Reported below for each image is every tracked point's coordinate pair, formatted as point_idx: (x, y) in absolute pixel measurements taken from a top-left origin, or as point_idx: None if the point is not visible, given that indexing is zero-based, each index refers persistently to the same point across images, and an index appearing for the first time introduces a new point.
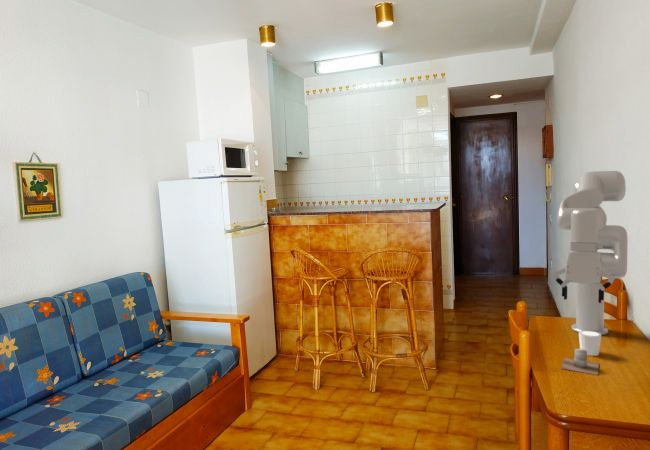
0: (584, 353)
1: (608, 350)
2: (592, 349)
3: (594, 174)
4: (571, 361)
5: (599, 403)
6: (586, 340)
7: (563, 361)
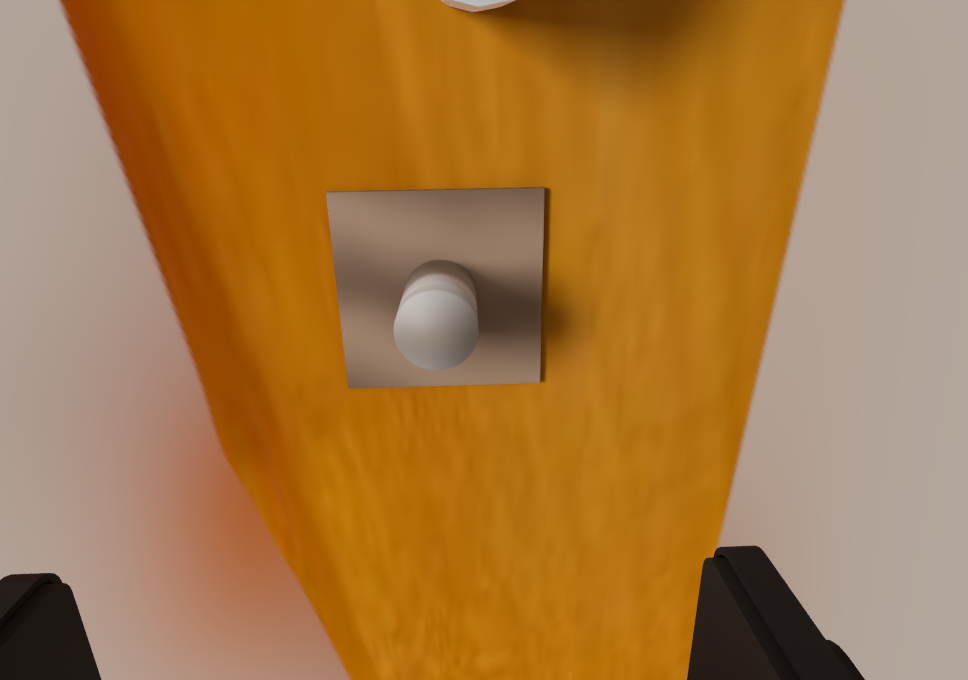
0: (465, 357)
1: None
2: (502, 5)
3: None
4: (380, 241)
5: (545, 654)
6: (454, 2)
7: (335, 267)
